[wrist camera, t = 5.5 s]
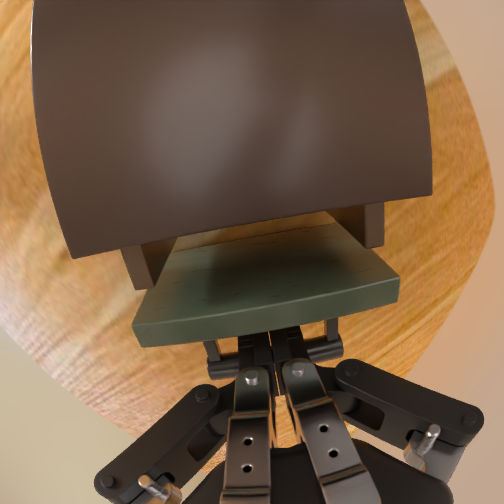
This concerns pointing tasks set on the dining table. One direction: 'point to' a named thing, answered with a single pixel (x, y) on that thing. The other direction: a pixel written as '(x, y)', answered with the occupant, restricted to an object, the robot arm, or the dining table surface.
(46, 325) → the dining table surface
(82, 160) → the cabinet
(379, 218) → the drawer
